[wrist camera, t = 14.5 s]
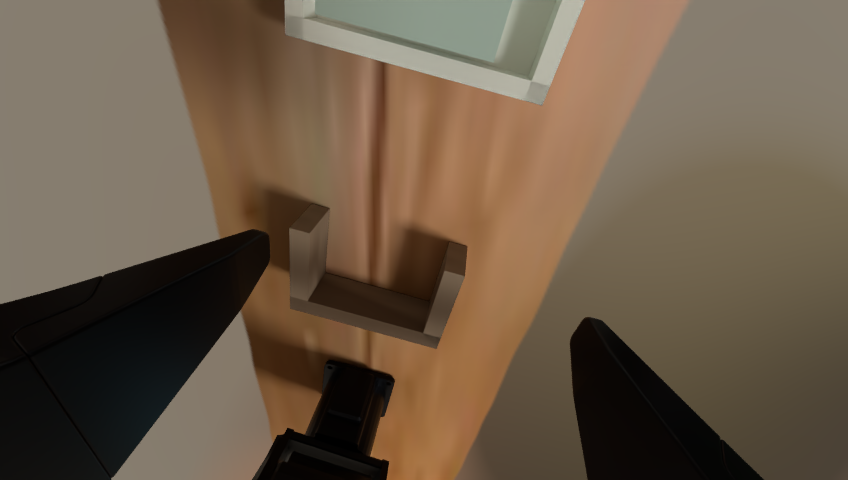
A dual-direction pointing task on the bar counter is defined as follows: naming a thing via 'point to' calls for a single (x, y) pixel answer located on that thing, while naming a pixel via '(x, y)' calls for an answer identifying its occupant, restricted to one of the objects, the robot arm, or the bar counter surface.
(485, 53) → the block with peg handle
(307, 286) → the dock
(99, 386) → the robot arm
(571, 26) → the tray
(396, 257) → the bar counter surface
